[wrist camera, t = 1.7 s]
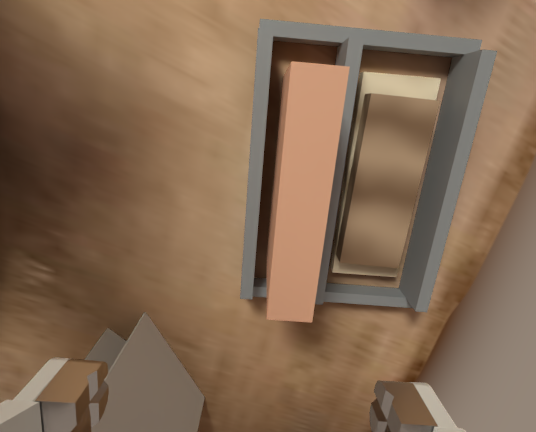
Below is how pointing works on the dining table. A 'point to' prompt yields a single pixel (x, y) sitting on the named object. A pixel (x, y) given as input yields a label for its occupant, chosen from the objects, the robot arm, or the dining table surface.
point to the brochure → (146, 384)
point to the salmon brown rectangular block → (302, 186)
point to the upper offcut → (385, 178)
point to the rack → (348, 54)
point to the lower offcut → (366, 85)
